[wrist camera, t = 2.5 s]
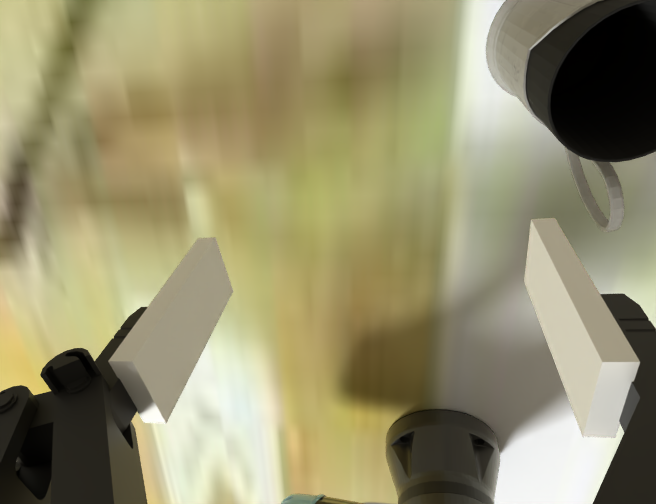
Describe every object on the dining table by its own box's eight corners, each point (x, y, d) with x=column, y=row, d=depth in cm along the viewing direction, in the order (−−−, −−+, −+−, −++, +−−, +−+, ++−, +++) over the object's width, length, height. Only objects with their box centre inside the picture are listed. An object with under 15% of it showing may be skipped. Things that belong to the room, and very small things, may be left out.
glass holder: (612, -48, 30) (762, -54, 18) (609, 147, 37) (714, 242, 24) (479, -4, 32) (527, 18, 20) (499, 171, 39) (544, 269, 27)
